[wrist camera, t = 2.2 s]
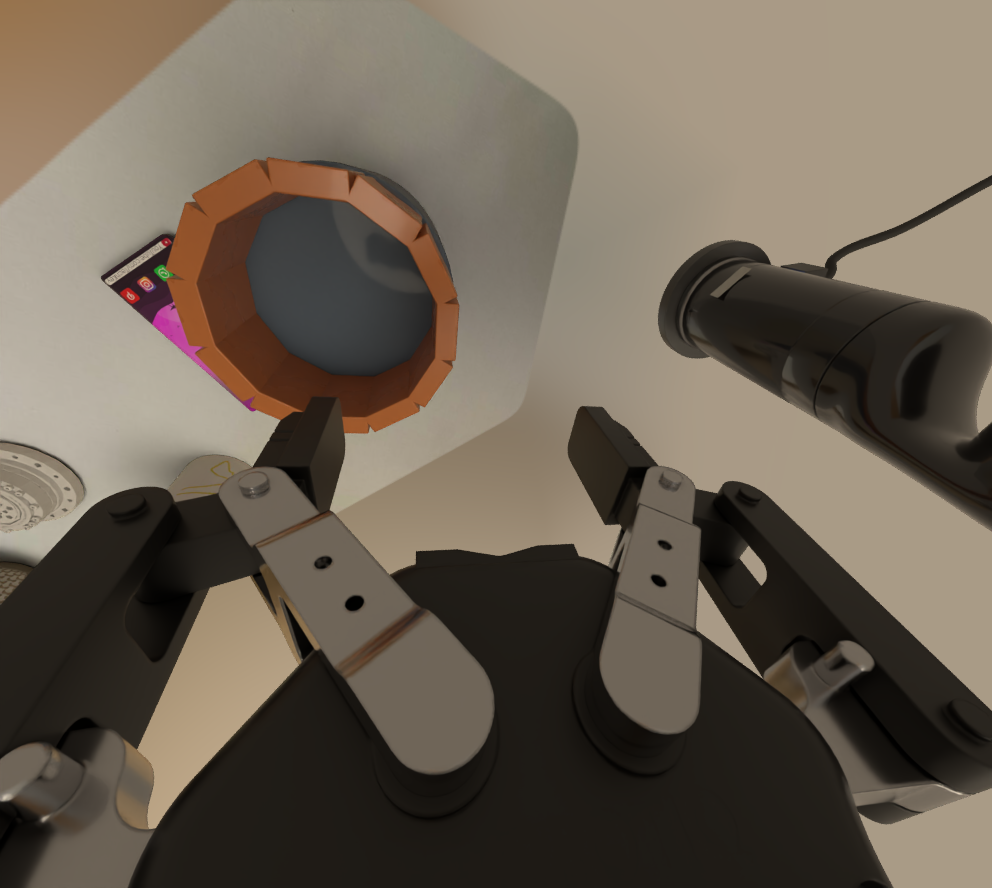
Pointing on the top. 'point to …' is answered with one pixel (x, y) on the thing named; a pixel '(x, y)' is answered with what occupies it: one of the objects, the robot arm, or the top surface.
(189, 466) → the white patterned cylinder
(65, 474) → the mechanical component
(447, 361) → the ring
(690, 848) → the robot arm
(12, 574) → the planter
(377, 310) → the stand
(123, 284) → the smartphone
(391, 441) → the top surface
